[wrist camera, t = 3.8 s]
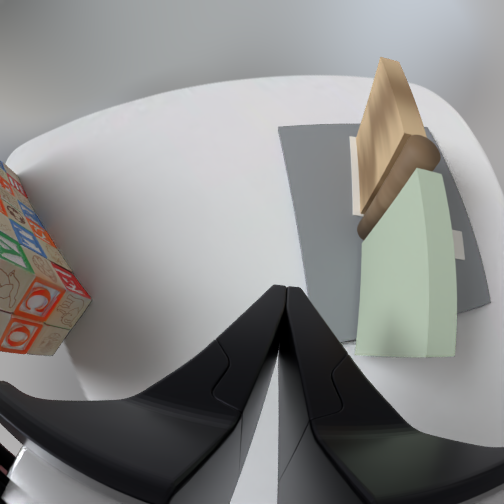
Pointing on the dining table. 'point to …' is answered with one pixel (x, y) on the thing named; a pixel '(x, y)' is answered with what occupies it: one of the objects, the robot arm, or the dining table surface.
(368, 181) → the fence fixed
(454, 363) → the dining table surface
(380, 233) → the fence hinged panel
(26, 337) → the stack of blocks
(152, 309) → the dining table surface
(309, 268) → the board
